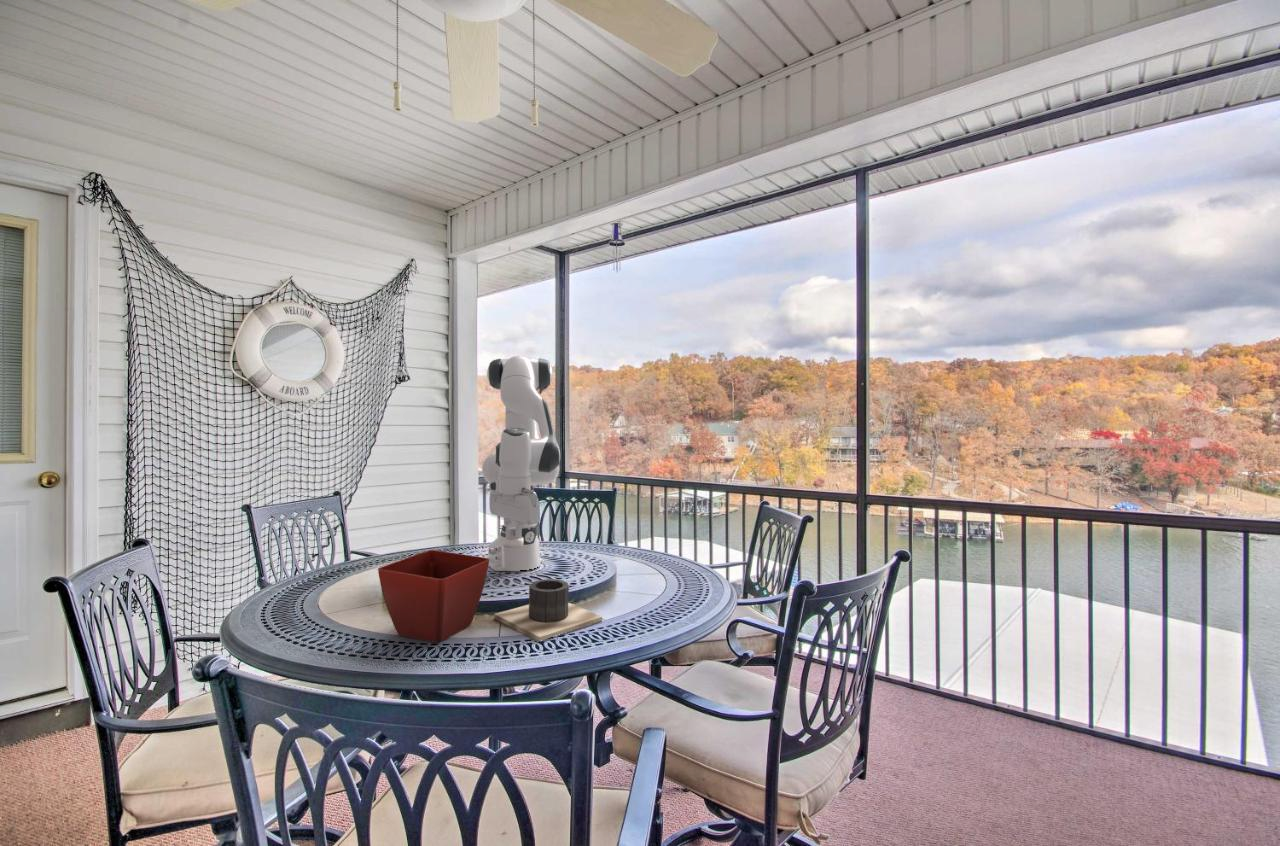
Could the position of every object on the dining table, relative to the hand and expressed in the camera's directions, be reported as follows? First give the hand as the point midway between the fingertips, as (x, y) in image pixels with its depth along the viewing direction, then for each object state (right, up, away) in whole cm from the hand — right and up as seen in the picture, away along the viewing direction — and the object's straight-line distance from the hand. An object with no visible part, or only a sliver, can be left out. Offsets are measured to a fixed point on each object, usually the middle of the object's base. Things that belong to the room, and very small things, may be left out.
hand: (513, 535), depth 164 cm
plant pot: (-15, -20, -19) cm, 32 cm away
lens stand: (+11, -20, -11) cm, 25 cm away
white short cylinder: (0, -3, 0) cm, 3 cm away
